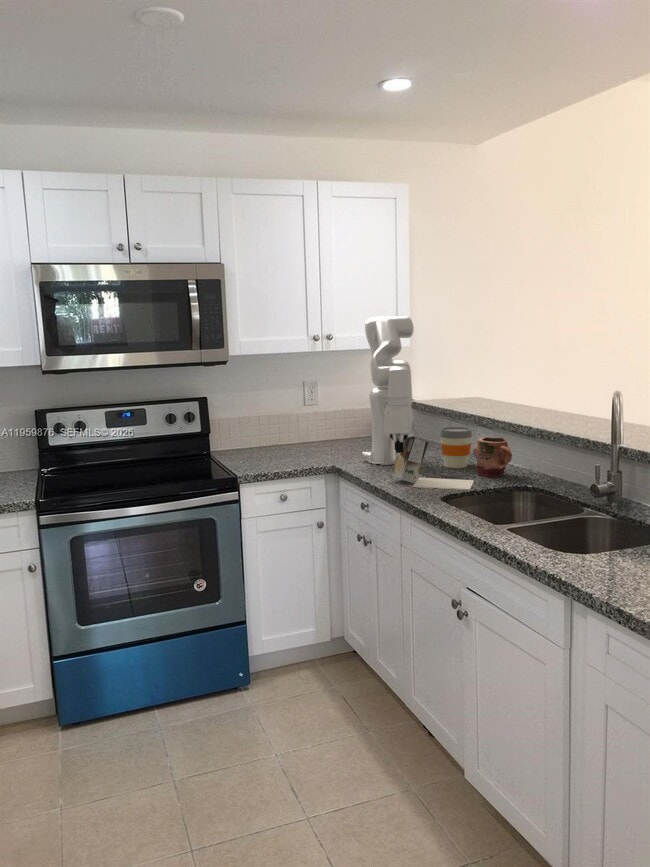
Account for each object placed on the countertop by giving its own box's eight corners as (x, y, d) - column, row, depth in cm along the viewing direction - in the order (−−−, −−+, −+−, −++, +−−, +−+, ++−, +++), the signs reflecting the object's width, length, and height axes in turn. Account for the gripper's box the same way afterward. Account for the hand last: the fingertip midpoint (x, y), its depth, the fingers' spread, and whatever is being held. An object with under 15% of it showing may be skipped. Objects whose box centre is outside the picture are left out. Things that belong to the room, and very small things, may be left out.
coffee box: (416, 484, 257) (429, 442, 257) (401, 479, 254) (415, 437, 254) (403, 479, 265) (417, 438, 265) (389, 474, 263) (402, 433, 263)
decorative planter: (524, 478, 263) (525, 441, 261) (500, 482, 257) (501, 444, 255) (486, 469, 280) (487, 434, 278) (463, 472, 274) (463, 437, 272)
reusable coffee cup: (446, 461, 296) (447, 426, 294) (475, 464, 290) (476, 428, 287) (435, 467, 285) (435, 430, 283) (465, 470, 279) (465, 432, 277)
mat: (412, 487, 252) (412, 486, 252) (419, 479, 265) (419, 477, 265) (469, 490, 246) (469, 488, 246) (474, 481, 259) (474, 480, 259)
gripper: (376, 403, 255) (376, 453, 257) (417, 403, 250) (417, 455, 253) (381, 400, 262) (381, 449, 264) (421, 401, 257) (421, 451, 260)
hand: (399, 452), depth 259 cm, fingers closed
